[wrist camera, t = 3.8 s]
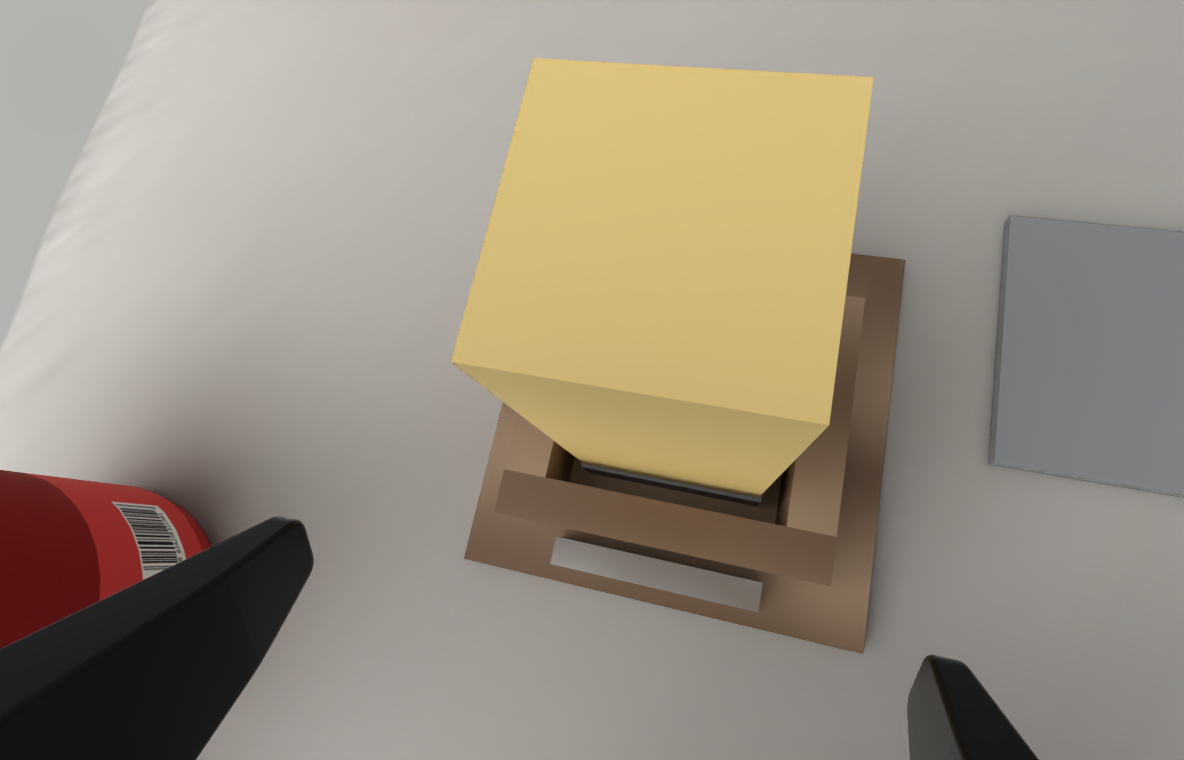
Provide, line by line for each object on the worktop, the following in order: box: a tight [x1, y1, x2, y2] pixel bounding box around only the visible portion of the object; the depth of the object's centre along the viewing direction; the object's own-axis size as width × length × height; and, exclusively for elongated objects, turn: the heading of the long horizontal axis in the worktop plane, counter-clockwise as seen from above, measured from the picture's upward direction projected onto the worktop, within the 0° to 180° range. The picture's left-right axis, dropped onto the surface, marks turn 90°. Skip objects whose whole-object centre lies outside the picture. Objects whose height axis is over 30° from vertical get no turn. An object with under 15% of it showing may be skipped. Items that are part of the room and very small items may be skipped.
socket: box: [464, 254, 905, 654], centre depth 19 cm, size 12×12×4 cm
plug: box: [451, 58, 874, 507], centre depth 14 cm, size 5×5×12 cm
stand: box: [989, 216, 1184, 497], centre depth 19 cm, size 8×8×1 cm
